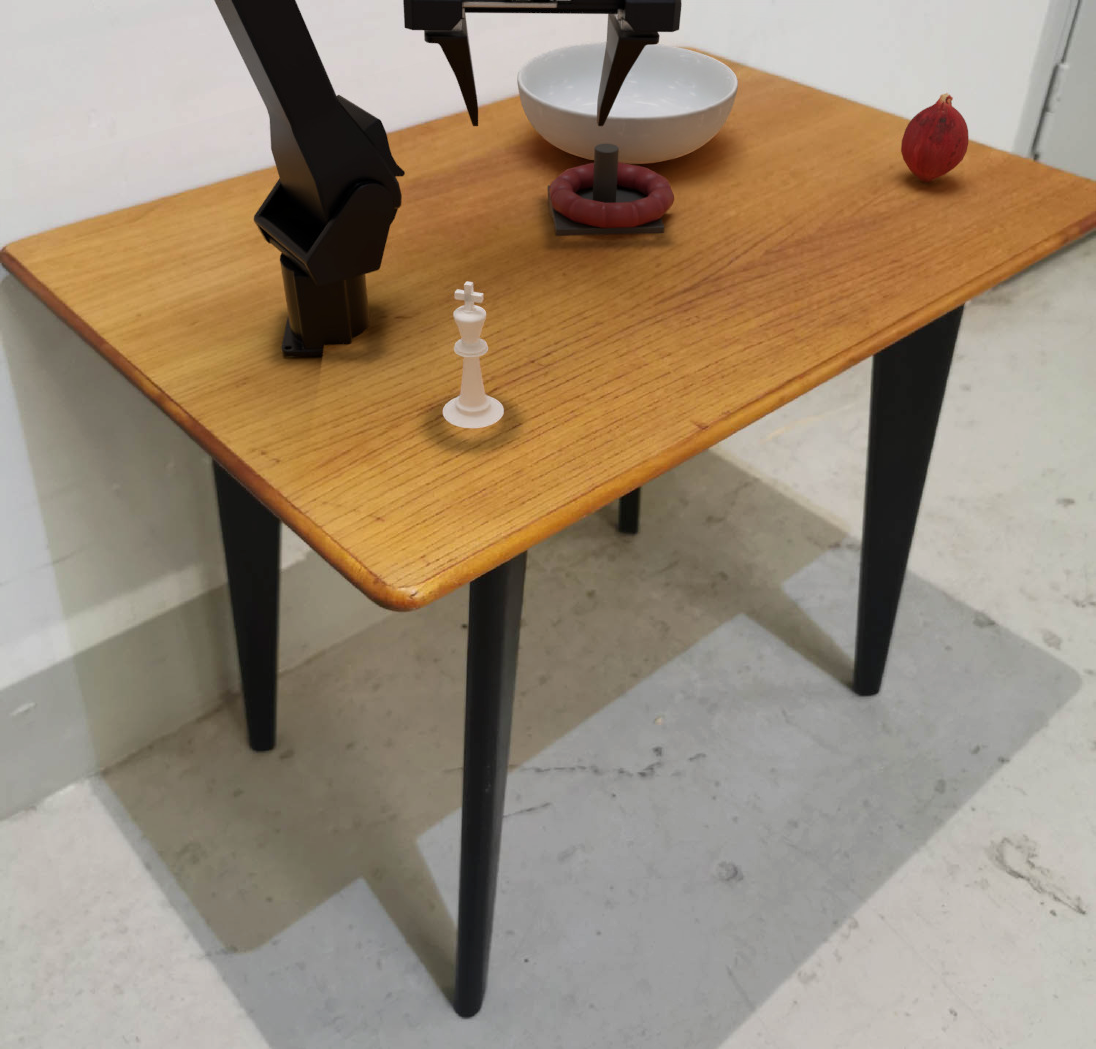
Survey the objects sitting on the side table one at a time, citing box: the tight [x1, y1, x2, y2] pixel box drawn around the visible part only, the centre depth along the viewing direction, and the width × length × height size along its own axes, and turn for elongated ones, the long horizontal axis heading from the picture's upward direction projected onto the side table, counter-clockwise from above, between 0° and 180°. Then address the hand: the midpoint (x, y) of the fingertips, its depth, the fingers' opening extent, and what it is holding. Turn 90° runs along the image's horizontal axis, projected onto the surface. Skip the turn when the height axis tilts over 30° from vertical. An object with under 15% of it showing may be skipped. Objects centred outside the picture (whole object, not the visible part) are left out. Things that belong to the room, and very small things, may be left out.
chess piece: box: [442, 280, 505, 429], centre depth 70 cm, size 5×5×10 cm
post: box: [546, 144, 665, 236], centre depth 95 cm, size 9×9×6 cm
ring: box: [549, 162, 675, 228], centre depth 95 cm, size 10×10×2 cm
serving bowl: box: [516, 41, 739, 165], centre depth 108 cm, size 21×21×7 cm
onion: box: [900, 92, 970, 183], centre depth 102 cm, size 6×6×8 cm
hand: (537, 124), depth 83 cm, fingers open, 9 cm apart
